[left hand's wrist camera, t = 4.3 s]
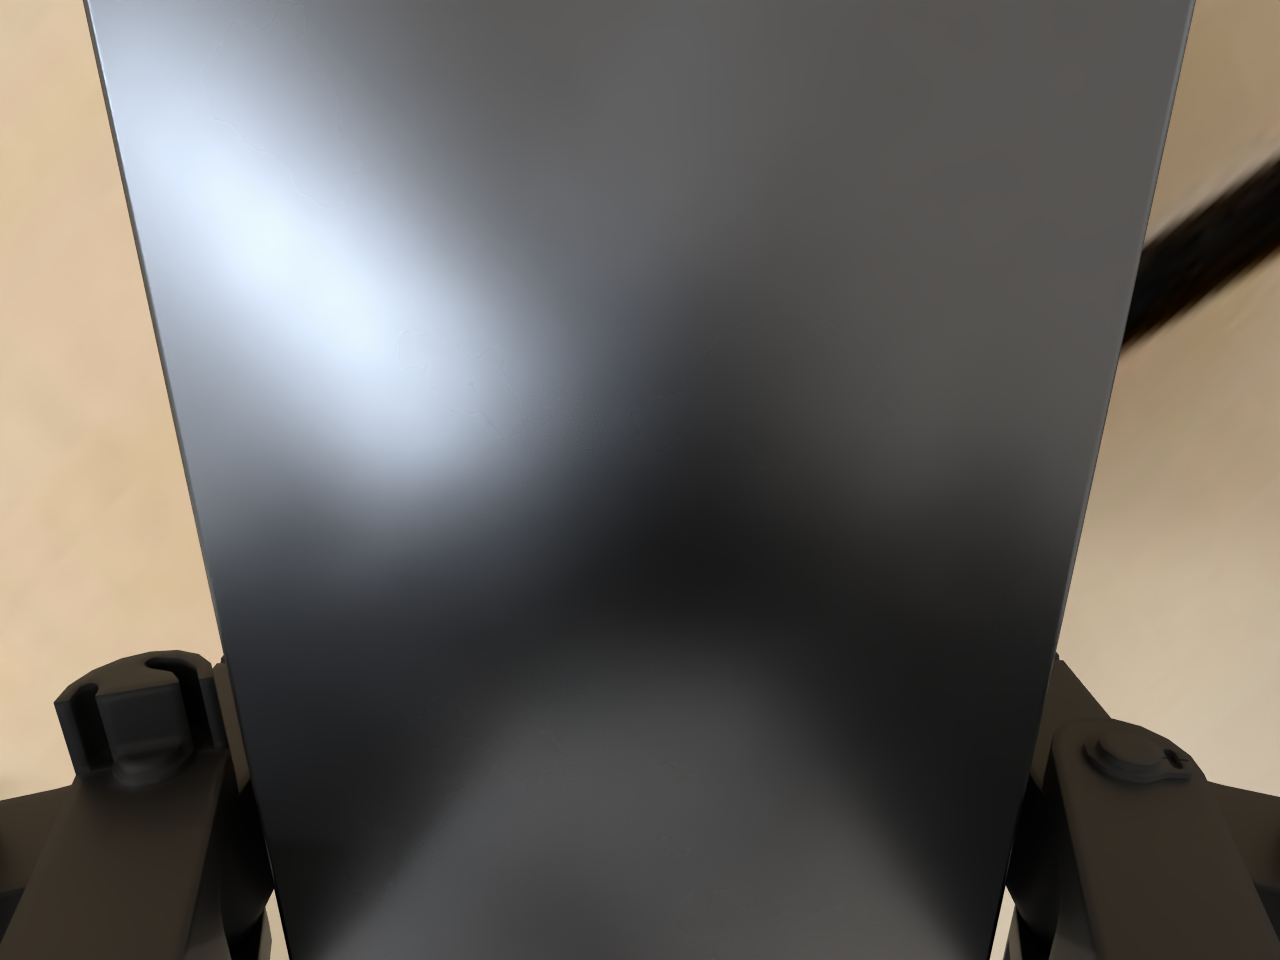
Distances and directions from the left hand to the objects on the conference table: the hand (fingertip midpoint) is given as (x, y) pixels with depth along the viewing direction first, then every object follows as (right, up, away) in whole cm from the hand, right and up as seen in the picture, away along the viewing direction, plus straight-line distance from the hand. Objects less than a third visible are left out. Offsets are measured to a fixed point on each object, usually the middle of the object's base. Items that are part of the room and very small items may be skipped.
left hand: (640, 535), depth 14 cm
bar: (0, +10, -3) cm, 10 cm away
